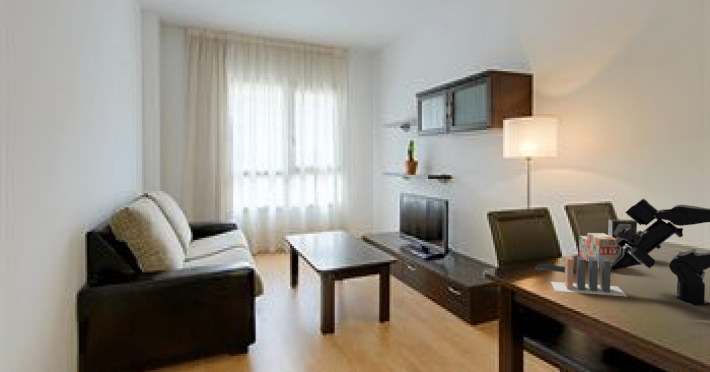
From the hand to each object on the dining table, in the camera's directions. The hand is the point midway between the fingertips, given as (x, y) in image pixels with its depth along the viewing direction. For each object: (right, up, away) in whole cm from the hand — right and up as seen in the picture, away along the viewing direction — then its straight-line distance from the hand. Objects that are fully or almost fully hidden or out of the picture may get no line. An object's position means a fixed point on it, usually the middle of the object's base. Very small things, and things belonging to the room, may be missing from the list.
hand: (611, 269), depth 128 cm
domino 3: (-2, -7, +1) cm, 7 cm away
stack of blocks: (+17, -5, +36) cm, 40 cm away
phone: (-4, -7, +27) cm, 28 cm away
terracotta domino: (-11, -7, +5) cm, 14 cm away
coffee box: (+33, -4, +44) cm, 55 cm away
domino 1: (-8, -7, +3) cm, 11 cm away
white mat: (-7, -8, +3) cm, 10 cm away
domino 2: (-5, -7, +2) cm, 9 cm away
